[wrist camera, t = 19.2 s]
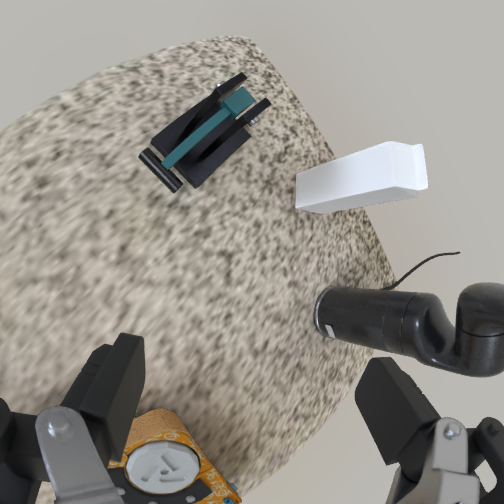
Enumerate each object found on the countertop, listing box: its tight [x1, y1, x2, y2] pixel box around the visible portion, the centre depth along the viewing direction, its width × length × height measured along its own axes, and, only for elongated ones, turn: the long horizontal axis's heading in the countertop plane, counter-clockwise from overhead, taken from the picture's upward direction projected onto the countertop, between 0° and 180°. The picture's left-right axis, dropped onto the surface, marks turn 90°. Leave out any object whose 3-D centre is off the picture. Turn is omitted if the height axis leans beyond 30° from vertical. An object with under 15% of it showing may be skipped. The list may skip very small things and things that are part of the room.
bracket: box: [150, 72, 271, 189], centre depth 31 cm, size 12×9×13 cm
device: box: [107, 408, 242, 504], centre depth 26 cm, size 23×8×30 cm
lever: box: [138, 86, 256, 193], centre depth 27 cm, size 13×6×2 cm, turn 139°
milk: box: [295, 141, 428, 214], centre depth 37 cm, size 6×6×22 cm
